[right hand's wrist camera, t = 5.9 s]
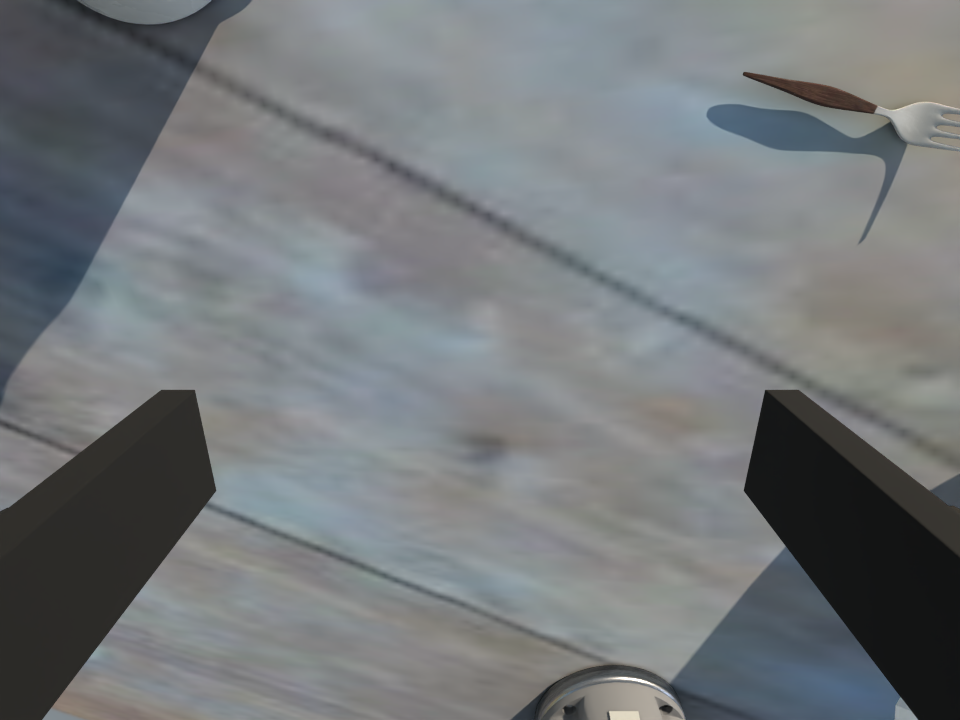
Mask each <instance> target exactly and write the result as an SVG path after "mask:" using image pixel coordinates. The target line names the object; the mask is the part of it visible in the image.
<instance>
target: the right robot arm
mask: <svg viewBox="0 0 960 720" xmlns="http://www.w3.org/2000/svg"><path fill="white" fill-rule="evenodd" d="M215 492H216V487H215V483H214V478H213V473H212V469H211V464H210V459H209V455H208V450H207V445H206V440H205V436H204V431H203V426H202V422H201V417H200V412H199V408H198V403H197V398H196V394H195V390H161V391H159V392H158V393H157V394H156V395H154V396H153V397H152V398H150V399H149V400H148V401H147V402H145V403H144V404H143V405H141V406H140V407H139V408H137V409H136V410H135V411H134V412H132V413H131V414H130V415H128V416H127V417H126V418H124V419H123V420H122V421H121V422H119V423H118V424H117V425H115V426H114V427H113V428H112V429H110V430H109V431H108V432H106V433H105V434H104V435H102V436H101V437H100V438H99V439H97V440H96V441H95V442H93V443H92V444H91V445H90V446H88V447H87V448H86V449H84V450H83V451H82V452H80V453H79V454H78V455H77V456H75V457H74V458H73V459H71V460H70V461H69V462H68V463H66V464H65V465H64V466H62V467H61V468H60V469H58V470H57V471H56V472H55V473H53V474H52V475H51V476H49V477H48V478H47V479H46V480H44V481H43V482H42V483H40V484H39V485H38V486H36V487H35V488H34V489H33V490H31V491H30V492H29V493H27V494H26V495H25V496H23V497H22V498H21V499H20V500H18V501H17V502H16V503H14V504H13V505H12V506H11V507H9V508H6V509H4V510H2V511H0V720H42V719H43V718H44V716H45V715H46V714H47V712H48V711H49V710H50V709H51V707H52V706H53V705H54V703H55V702H56V701H57V699H58V698H59V697H60V695H61V694H62V693H63V691H64V690H65V689H66V687H67V686H68V685H69V684H70V682H71V681H72V680H73V678H74V677H75V676H76V674H77V673H78V672H79V670H80V669H81V668H82V666H83V665H84V664H85V663H86V661H87V660H88V659H89V657H90V656H91V655H92V653H93V652H94V651H95V649H96V648H97V647H98V645H99V644H100V643H101V641H102V640H103V639H104V638H105V636H106V635H107V634H108V632H109V631H110V630H111V628H112V627H113V626H114V624H115V623H116V622H117V620H118V619H119V618H120V617H121V615H122V614H123V613H124V611H125V610H126V609H127V607H128V606H129V605H130V603H131V602H132V601H133V599H134V598H135V597H136V595H137V594H138V593H139V592H140V590H141V589H142V588H143V586H144V585H145V584H146V582H147V581H148V580H149V578H150V577H151V576H152V574H153V573H154V572H155V571H156V569H157V568H158V567H159V565H160V564H161V563H162V561H163V560H164V559H165V557H166V556H167V555H168V553H169V552H170V551H171V549H172V548H173V547H174V546H175V544H176V543H177V542H178V540H179V539H180V538H181V536H182V535H183V534H184V532H185V531H186V530H187V528H188V527H189V526H190V525H191V523H192V522H193V521H194V519H195V518H196V517H197V515H198V514H199V513H200V511H201V510H202V509H203V507H204V506H205V505H206V503H207V502H208V501H209V500H210V498H211V497H212V496H213V494H214V493H215ZM744 492H745V493H746V494H747V496H748V497H749V498H750V500H751V501H752V502H753V503H754V505H755V506H756V507H757V509H758V510H759V511H760V513H761V514H762V515H763V517H764V518H765V519H766V521H767V522H768V523H769V525H770V526H771V527H772V528H773V530H774V531H775V532H776V534H777V535H778V536H779V538H780V539H781V540H782V542H783V543H784V544H785V546H786V547H787V548H788V549H789V551H790V552H791V553H792V555H793V556H794V557H795V559H796V560H797V561H798V563H799V564H800V565H801V567H802V568H803V569H804V571H805V572H806V573H807V574H808V576H809V577H810V578H811V580H812V581H813V582H814V584H815V585H816V586H817V588H818V589H819V590H820V592H821V593H822V594H823V595H824V597H825V598H826V599H827V601H828V602H829V603H830V605H831V606H832V607H833V609H834V610H835V611H836V613H837V614H838V615H839V617H840V618H841V619H842V620H843V622H844V623H845V624H846V626H847V627H848V628H849V630H850V631H851V632H852V634H853V635H854V636H855V638H856V639H857V640H858V641H859V643H860V644H861V645H862V647H863V648H864V649H865V651H866V652H867V653H868V655H869V656H870V657H871V659H872V660H873V661H874V663H875V664H876V665H877V666H878V668H879V669H880V670H881V672H882V673H883V674H884V676H885V677H886V678H887V680H888V681H889V682H890V684H891V685H892V686H893V687H894V689H895V690H896V691H897V693H898V694H899V695H900V697H901V698H902V699H903V701H904V702H905V703H906V705H907V706H908V707H909V709H910V710H911V711H912V712H913V714H914V715H915V716H916V718H917V719H918V720H960V509H958V508H956V507H954V506H948V505H947V504H946V503H944V502H943V501H942V500H940V499H939V498H938V497H937V496H935V495H934V494H933V493H931V492H930V491H929V490H927V489H926V488H925V487H924V486H922V485H921V484H920V483H918V482H917V481H916V480H914V479H913V478H912V477H911V476H909V475H908V474H907V473H905V472H904V471H903V470H902V469H900V468H899V467H898V466H896V465H895V464H894V463H892V462H891V461H890V460H889V459H887V458H886V457H885V456H883V455H882V454H881V453H880V452H878V451H877V450H876V449H874V448H873V447H872V446H870V445H869V444H868V443H867V442H865V441H864V440H863V439H861V438H860V437H859V436H858V435H856V434H855V433H854V432H852V431H851V430H850V429H848V428H847V427H846V426H845V425H843V424H842V423H841V422H839V421H838V420H837V419H836V418H834V417H833V416H832V415H830V414H829V413H828V412H826V411H825V410H824V409H823V408H821V407H820V406H819V405H817V404H816V403H815V402H813V401H812V400H811V399H810V398H808V397H807V396H806V395H804V394H803V393H802V392H801V391H799V390H765V394H764V398H763V403H762V408H761V412H760V417H759V422H758V426H757V431H756V436H755V440H754V445H753V450H752V455H751V459H750V464H749V469H748V473H747V478H746V483H745V487H744ZM535 720H686V717H685V714H684V711H683V709H682V706H681V703H680V700H679V698H678V696H677V694H676V692H675V691H674V689H673V688H672V687H671V686H670V685H669V684H668V683H667V682H666V681H665V680H663V679H662V678H661V677H659V676H657V675H655V674H653V673H651V672H649V671H646V670H643V669H640V668H636V667H630V666H622V665H607V666H598V667H592V668H588V669H584V670H581V671H578V672H576V673H573V674H571V675H569V676H567V677H565V678H563V679H562V680H560V681H558V682H557V683H556V684H554V685H553V686H552V687H551V688H550V689H549V690H548V691H547V692H546V693H545V694H544V696H543V697H542V698H541V700H540V702H539V704H538V706H537V709H536V712H535Z"/></svg>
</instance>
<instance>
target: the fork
mask: <svg viewBox="0 0 960 720" xmlns="http://www.w3.org/2000/svg"><path fill="white" fill-rule="evenodd" d="M743 75H744V76H746V77H748V78H751V79H753V80H756V81H758V82H761V83H764V84H766V85H769V86H772V87H774V88H777V89H779V90H782V91H784V92H787V93H789V94H792V95H794V96H796V97H799V98H801V99H803V100H806V101H808V102H811V103H814V104H817V105H820V106H824V107H829V108H835V109H842V110H849V111H856V112H864V113H871V114H877V115H882V116H885V117H887V118H888V119H889V120H890V121H891V123H892V125H893V127H894V129H895V131H896V132H897V134H898V136H899V137H900V138H901V139H902V140H903V141H904V142H906V143H908V144H911V145H915V146H922V147H930V148H937V149H945V150H952V151H960V148H958V147H954V146H950V145H946V144H941V143H937V142H934V141H932V140H931V137H945V138H953V139H960V135H958V134H953V133H949V132H945V131H941V130H938V129H937V128H936V127H937V126H938V125H947V126H955V127H960V122H957V121H953V120H949V119H945V118H943V117H942V115H943V114H959V115H960V109H957V108H953V107H949V106H945V105H941V104H937V103H932V102H919V103H914V104H911V105H908V106H905V107H903V108H900V109H896V110H888V109H884V108H882V107H879V106H877V105H875V104H872V103H870V102H868V101H866V100H863V99H861V98H859V97H857V96H854V95H852V94H850V93H847V92H845V91H842V90H840V89H837V88H834V87H831V86H827V85H821V84H815V83H809V82H802V81H795V80H788V79H782V78H777V77H771V76H765V75H760V74H754V73H748V72H744V73H743Z"/></svg>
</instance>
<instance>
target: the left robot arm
mask: <svg viewBox="0 0 960 720" xmlns="http://www.w3.org/2000/svg"><path fill="white" fill-rule="evenodd" d="M77 1H79V2H80V3H82V4H83V5H85V6H87V7H89V8H90V9H92V10H94V11H96V12H98V13H100V14H103V15H105V16H108V17H110V18H113V19H116V20H120V21H124V22H128V23H134V24H146V25H151V24H163V23H169V22H173V21H176V20H180V19H182V18H185V17H187V16H189V15H191V14H193V13H195V12H197V11H198V10H200V9H201V8H203V7H204V6H206V5H207V4H208V3H209V2H210V1H212V0H77Z"/></svg>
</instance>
